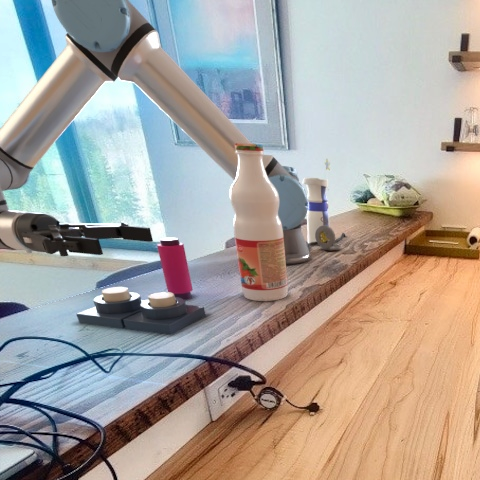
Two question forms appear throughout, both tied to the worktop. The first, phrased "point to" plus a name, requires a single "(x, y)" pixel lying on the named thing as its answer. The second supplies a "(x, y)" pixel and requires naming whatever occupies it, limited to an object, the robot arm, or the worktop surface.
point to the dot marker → (175, 267)
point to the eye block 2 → (164, 317)
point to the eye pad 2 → (162, 299)
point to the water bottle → (316, 204)
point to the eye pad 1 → (115, 294)
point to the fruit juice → (257, 228)
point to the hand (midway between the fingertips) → (126, 240)
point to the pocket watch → (326, 237)
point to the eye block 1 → (111, 311)
